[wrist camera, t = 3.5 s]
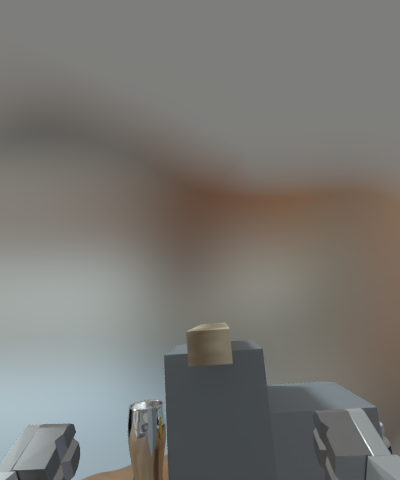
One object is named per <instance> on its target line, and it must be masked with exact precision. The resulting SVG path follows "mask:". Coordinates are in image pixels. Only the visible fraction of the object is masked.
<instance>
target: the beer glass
mask: <svg viewBox="0 0 400 480" xmlns="http://www.w3.org/2000/svg"><path fill="white" fill-rule="evenodd" d="M165 442H166V420H165V410H164V402H163V401H161V400H144V401H139V402H136V403H133V404H131V405H130V406H129V417H128V444H129V451H130V457H131V463H132V470H133V480H163V460H164V451H165Z"/></svg>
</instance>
